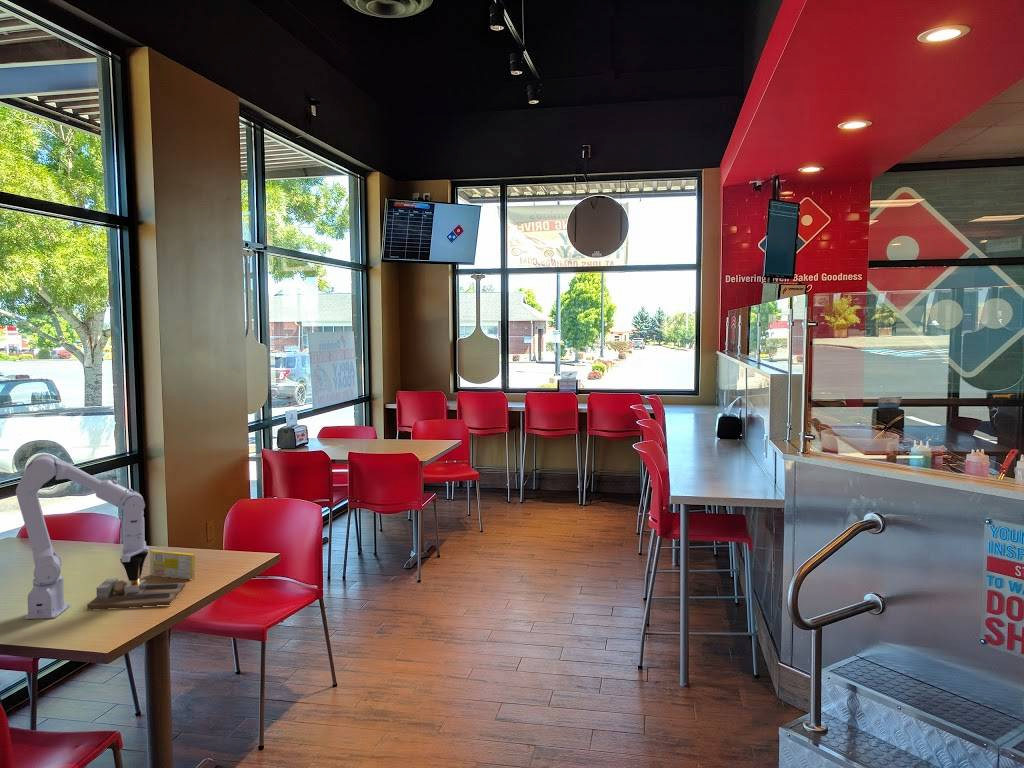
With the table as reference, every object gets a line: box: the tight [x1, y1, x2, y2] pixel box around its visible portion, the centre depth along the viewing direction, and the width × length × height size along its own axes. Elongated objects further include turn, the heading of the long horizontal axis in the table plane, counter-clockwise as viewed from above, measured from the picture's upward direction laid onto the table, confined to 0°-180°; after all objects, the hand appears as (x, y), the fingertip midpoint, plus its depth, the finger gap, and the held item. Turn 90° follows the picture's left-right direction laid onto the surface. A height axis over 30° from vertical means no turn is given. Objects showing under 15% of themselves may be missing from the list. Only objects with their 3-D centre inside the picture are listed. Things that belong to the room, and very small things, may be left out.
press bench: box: [86, 577, 186, 611], centre depth 217 cm, size 16×22×5 cm
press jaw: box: [124, 572, 147, 596], centre depth 216 cm, size 6×4×8 cm, turn 9°
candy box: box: [149, 549, 196, 580], centre depth 236 cm, size 16×2×8 cm, turn 74°
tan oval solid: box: [113, 580, 129, 595], centre depth 216 cm, size 4×4×4 cm
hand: (134, 578), depth 216 cm, fingers closed on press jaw, 2 cm apart
